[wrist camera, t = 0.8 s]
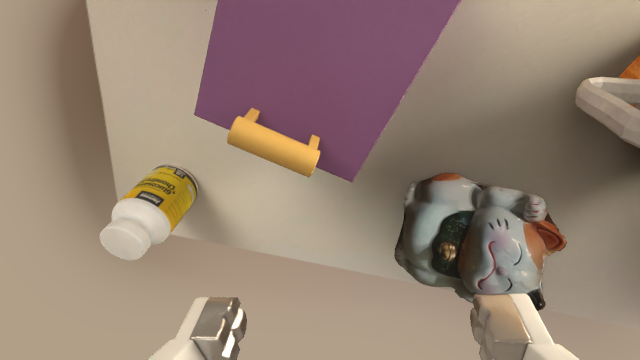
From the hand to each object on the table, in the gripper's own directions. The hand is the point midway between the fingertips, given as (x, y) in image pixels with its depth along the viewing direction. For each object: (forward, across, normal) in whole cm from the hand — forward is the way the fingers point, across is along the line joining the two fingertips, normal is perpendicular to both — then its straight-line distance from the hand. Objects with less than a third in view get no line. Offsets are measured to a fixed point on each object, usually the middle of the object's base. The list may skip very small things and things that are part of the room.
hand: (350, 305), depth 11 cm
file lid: (+16, +2, -6) cm, 18 cm away
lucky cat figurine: (+26, -11, +17) cm, 33 cm away
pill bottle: (+26, +25, +10) cm, 38 cm away
